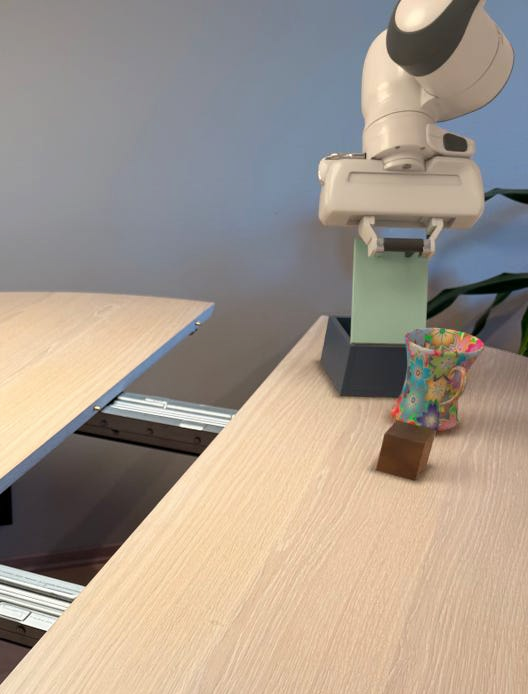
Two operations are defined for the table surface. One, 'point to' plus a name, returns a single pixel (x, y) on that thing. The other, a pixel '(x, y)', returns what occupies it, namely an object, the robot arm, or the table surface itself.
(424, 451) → the block
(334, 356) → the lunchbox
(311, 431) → the table surface
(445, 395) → the mug
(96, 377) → the table surface
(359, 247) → the lid
